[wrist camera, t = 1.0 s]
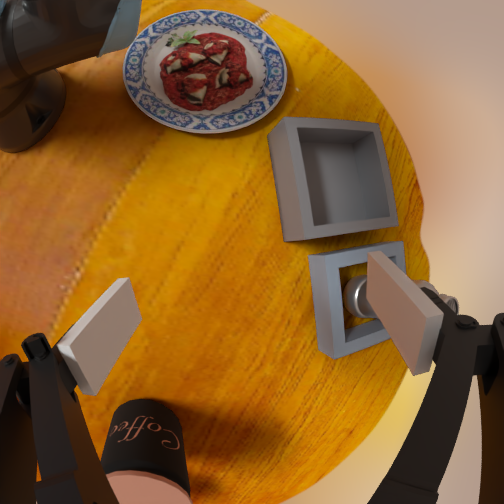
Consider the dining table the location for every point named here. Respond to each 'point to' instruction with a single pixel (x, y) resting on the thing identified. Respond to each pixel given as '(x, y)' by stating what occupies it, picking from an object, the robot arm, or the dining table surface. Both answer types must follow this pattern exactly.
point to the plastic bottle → (361, 307)
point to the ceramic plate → (205, 71)
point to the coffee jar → (146, 455)
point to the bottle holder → (330, 299)
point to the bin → (330, 177)
